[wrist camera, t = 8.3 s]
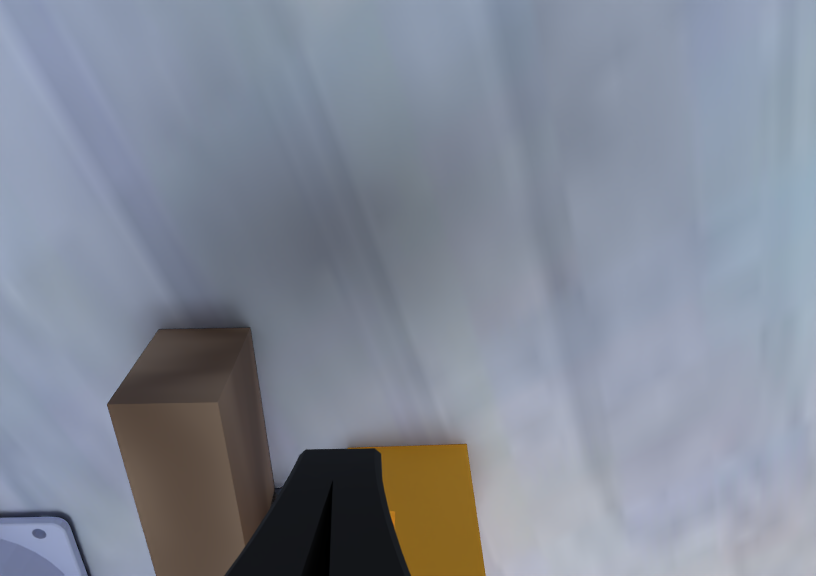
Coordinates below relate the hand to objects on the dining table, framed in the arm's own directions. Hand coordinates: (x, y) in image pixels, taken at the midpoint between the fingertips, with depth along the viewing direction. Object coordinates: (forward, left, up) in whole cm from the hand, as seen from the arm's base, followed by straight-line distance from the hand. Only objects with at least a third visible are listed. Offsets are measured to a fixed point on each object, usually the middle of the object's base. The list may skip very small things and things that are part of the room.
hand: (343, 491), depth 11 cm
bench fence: (-6, -14, -9) cm, 18 cm away
